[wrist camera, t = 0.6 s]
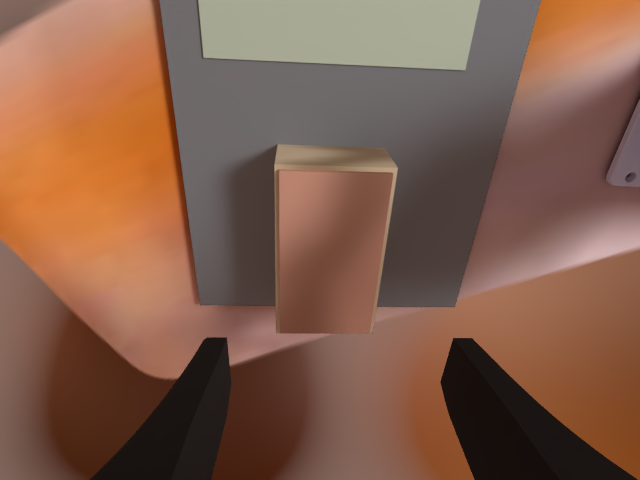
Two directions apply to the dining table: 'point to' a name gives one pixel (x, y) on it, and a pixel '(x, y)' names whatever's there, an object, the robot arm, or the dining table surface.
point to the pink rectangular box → (330, 236)
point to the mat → (341, 124)
